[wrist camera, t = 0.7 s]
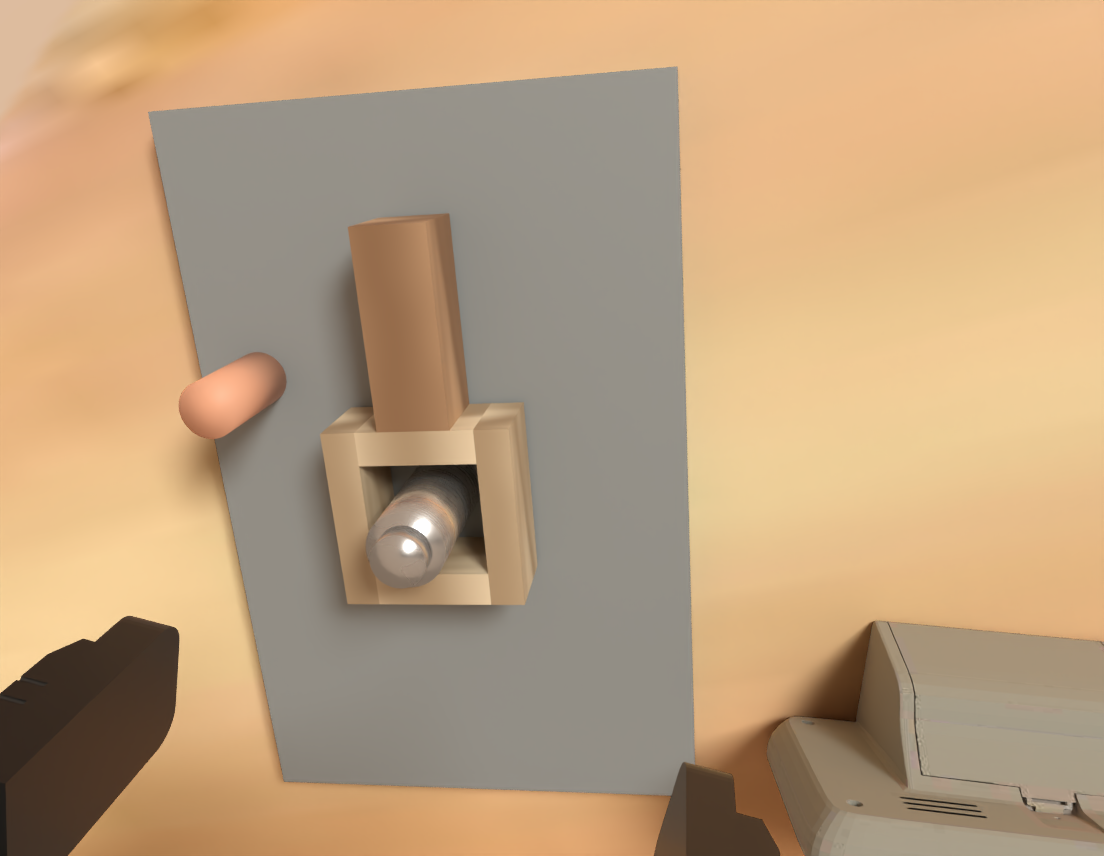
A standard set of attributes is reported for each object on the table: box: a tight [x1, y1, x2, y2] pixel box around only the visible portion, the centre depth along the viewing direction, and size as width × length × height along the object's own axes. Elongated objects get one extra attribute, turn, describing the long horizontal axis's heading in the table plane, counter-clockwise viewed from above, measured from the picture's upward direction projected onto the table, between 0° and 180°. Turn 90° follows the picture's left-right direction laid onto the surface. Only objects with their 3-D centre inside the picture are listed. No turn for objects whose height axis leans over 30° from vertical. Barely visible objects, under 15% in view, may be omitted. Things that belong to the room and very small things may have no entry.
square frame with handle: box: [320, 213, 538, 605], centre depth 31 cm, size 6×13×3 cm, turn 4°
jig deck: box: [148, 67, 695, 796], centre depth 34 cm, size 18×28×2 cm, turn 4°
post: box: [366, 464, 480, 589], centre depth 30 cm, size 3×3×6 cm
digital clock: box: [767, 621, 1104, 856], centre depth 30 cm, size 16×9×11 cm, turn 77°
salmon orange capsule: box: [179, 352, 287, 439], centre depth 31 cm, size 2×2×4 cm
